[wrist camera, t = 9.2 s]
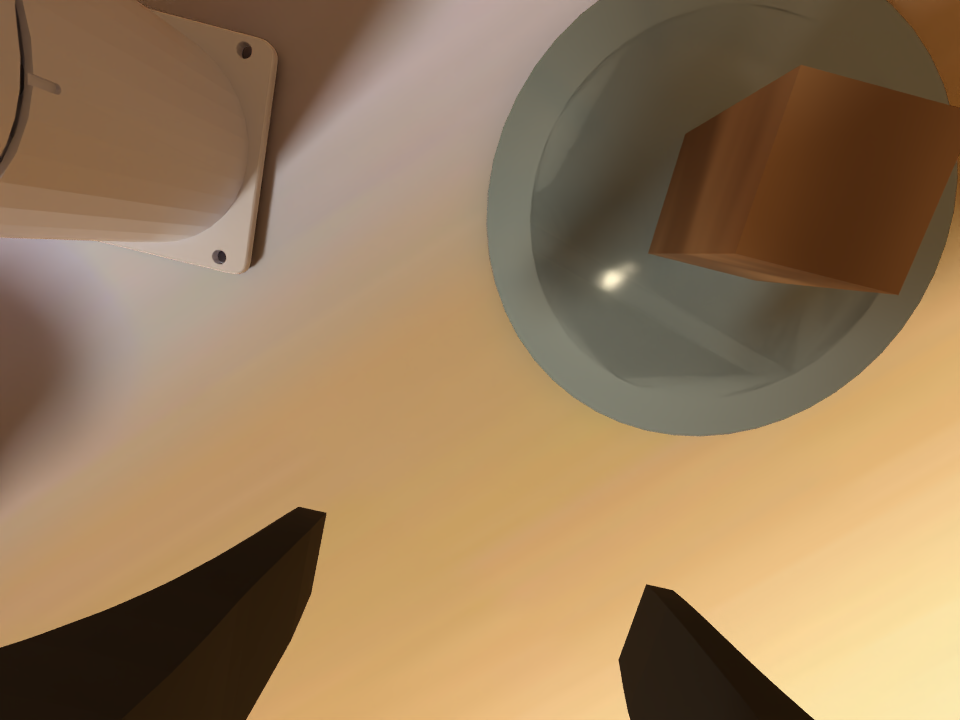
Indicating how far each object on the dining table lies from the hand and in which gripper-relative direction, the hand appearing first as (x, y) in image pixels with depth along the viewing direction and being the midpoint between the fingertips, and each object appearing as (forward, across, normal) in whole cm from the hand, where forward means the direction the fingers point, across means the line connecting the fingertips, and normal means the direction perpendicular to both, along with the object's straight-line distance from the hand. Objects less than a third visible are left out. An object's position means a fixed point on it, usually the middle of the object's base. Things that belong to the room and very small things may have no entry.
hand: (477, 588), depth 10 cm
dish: (+9, -6, -10) cm, 15 cm away
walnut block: (+8, -6, -10) cm, 14 cm away
